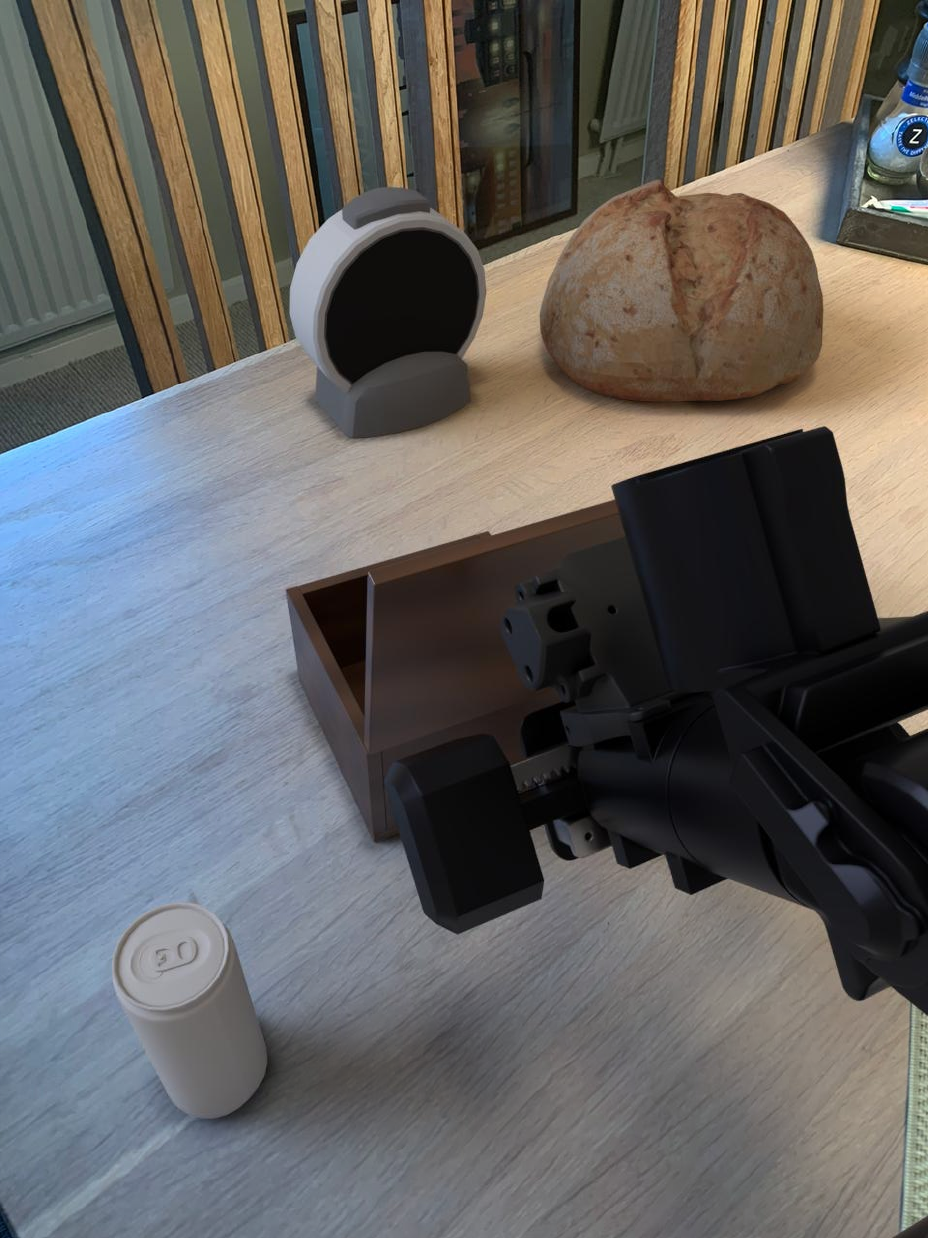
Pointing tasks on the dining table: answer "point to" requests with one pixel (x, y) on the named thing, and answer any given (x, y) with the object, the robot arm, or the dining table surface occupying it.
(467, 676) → the lid
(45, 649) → the dining table surface
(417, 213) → the alarm clock
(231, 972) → the beverage can
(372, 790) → the box
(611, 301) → the bread
